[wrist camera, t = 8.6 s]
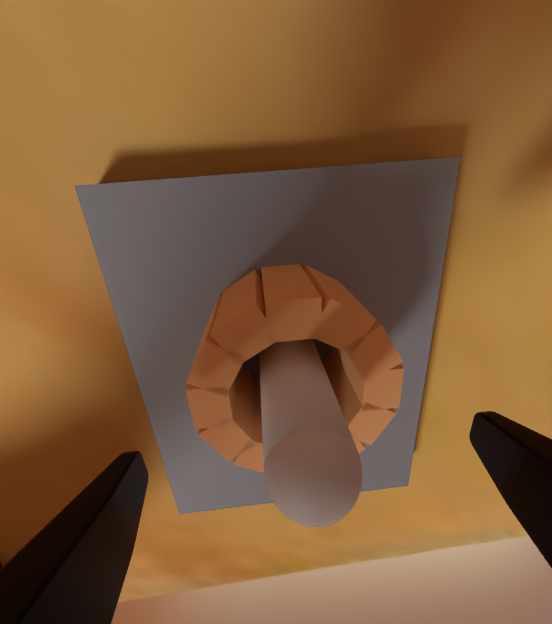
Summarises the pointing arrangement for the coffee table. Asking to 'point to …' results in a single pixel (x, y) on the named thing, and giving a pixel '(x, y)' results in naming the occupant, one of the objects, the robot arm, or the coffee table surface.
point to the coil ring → (288, 327)
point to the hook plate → (262, 232)
